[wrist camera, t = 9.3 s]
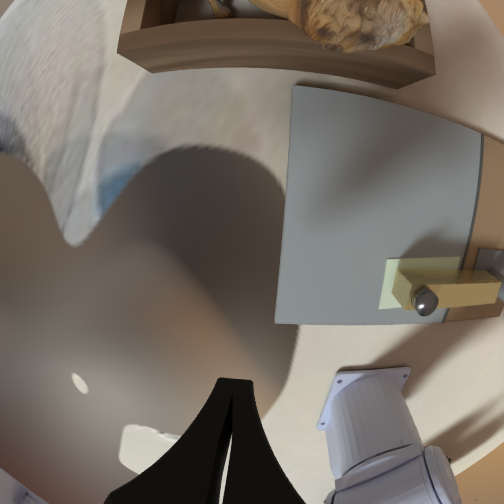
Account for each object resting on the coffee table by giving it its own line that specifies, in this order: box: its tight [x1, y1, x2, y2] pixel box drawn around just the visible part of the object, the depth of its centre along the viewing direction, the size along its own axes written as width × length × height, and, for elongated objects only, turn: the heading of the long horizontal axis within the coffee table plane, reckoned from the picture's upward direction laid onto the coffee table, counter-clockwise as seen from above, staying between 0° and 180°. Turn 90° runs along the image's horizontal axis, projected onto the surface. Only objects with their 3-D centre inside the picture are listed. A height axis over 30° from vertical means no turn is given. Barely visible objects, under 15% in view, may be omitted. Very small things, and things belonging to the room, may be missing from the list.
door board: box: [275, 85, 504, 325], centre depth 15 cm, size 16×24×4 cm, turn 87°
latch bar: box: [391, 269, 502, 317], centre depth 15 cm, size 10×2×3 cm, turn 89°
